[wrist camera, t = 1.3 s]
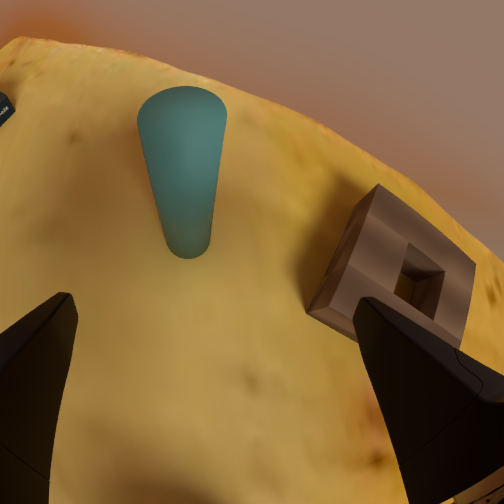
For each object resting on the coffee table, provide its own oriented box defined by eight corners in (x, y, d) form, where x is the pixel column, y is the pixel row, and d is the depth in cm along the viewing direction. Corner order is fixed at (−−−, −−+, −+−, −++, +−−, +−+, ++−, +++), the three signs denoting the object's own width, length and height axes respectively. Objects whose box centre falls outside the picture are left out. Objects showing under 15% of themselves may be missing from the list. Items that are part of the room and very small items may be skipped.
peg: (179, 266, 23) (156, 162, 9) (159, 229, 23) (126, 104, 10) (218, 245, 24) (243, 127, 10) (197, 210, 24) (202, 77, 11)
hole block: (419, 376, 23) (450, 377, 19) (306, 313, 23) (329, 306, 19) (448, 275, 27) (476, 263, 23) (355, 205, 27) (378, 183, 23)
